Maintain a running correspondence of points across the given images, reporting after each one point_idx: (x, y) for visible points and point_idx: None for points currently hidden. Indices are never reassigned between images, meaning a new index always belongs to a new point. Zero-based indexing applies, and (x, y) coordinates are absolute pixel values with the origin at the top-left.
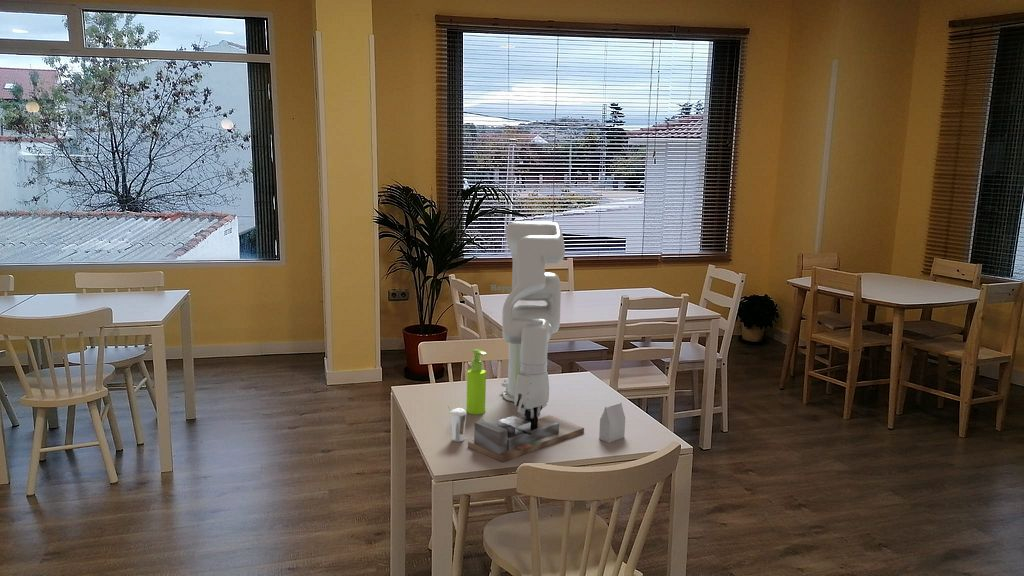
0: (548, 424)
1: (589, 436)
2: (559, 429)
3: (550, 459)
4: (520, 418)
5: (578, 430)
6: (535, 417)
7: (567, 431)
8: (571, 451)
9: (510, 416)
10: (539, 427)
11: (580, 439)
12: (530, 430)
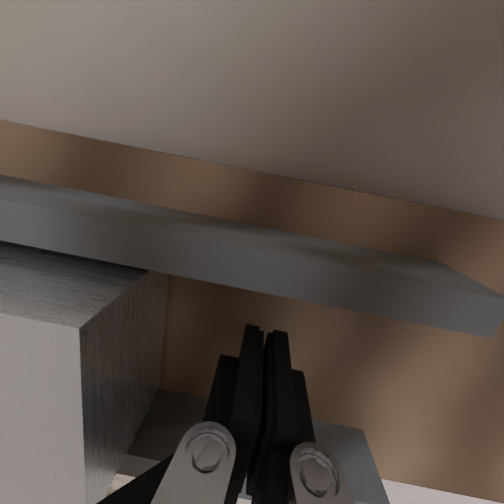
0: (474, 350)
1: (447, 499)
2: (416, 429)
3: (119, 474)
4: (80, 434)
5: (460, 490)
6: (255, 494)
7: (407, 467)
8: (241, 499)
9: (24, 318)
10: (385, 331)
11: (388, 485)
12: (131, 443)
